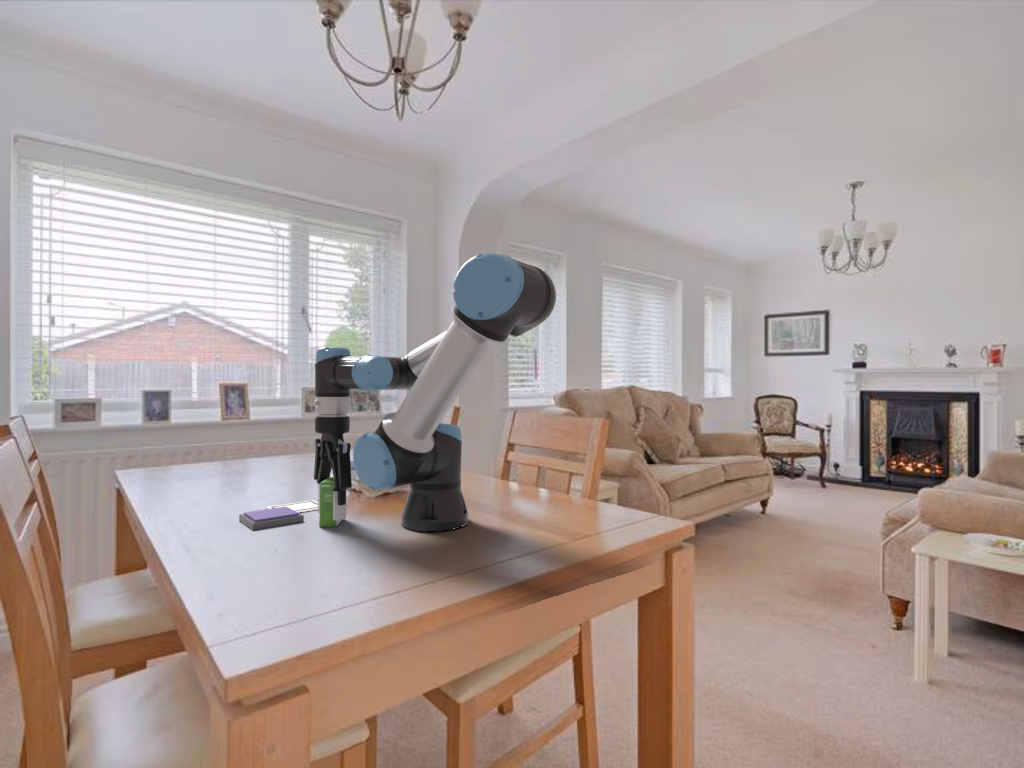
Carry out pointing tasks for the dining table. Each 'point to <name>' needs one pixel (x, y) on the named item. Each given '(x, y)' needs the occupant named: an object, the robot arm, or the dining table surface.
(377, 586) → the dining table surface
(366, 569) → the dining table surface
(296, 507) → the print sheet
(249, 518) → the ink pad
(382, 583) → the dining table surface
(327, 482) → the ink box
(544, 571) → the dining table surface
